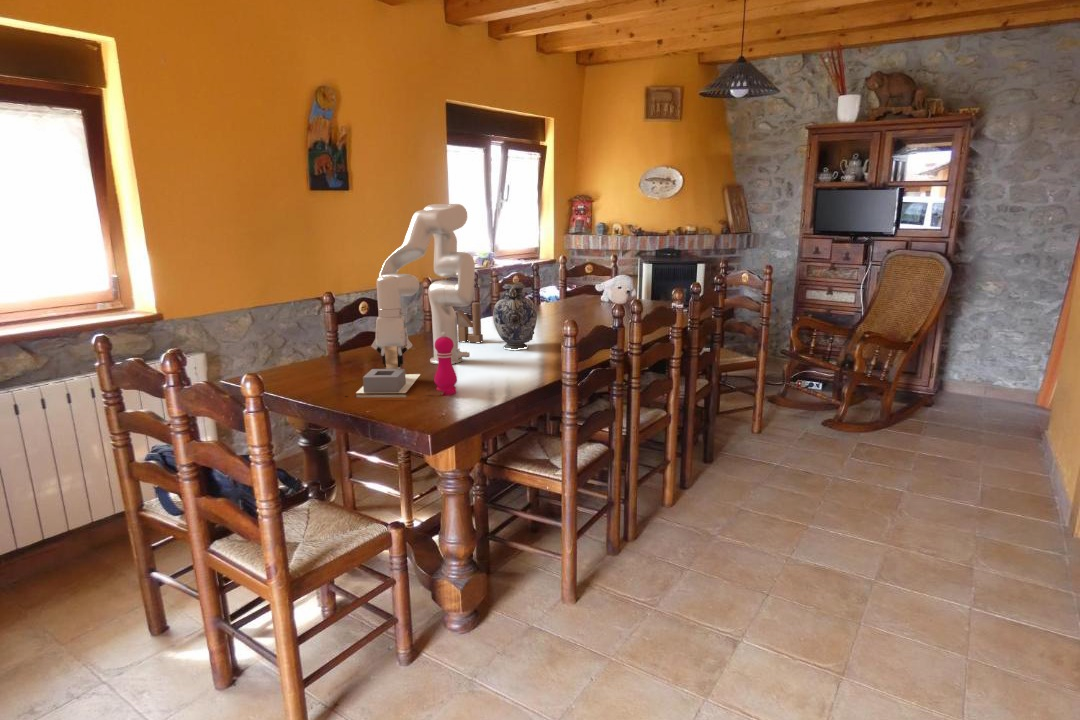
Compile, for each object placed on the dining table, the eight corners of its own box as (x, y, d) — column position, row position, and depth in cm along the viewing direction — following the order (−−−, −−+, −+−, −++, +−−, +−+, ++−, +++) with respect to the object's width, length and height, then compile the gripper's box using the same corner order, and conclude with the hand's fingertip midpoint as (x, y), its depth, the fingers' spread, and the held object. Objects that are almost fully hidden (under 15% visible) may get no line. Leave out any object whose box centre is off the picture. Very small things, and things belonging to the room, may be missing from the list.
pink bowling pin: (442, 389, 213) (439, 329, 209) (461, 391, 211) (459, 330, 206) (430, 394, 207) (427, 333, 202) (450, 396, 204) (448, 334, 200)
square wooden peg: (401, 377, 223) (399, 343, 221) (398, 380, 220) (396, 345, 217) (389, 377, 223) (387, 343, 221) (386, 380, 220) (384, 345, 217)
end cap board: (420, 378, 228) (419, 360, 226) (406, 397, 204) (404, 377, 203) (375, 378, 228) (374, 360, 226) (355, 397, 204) (354, 377, 203)
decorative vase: (536, 353, 266) (534, 285, 260) (491, 353, 267) (489, 286, 261) (538, 343, 287) (537, 280, 280) (497, 343, 287) (494, 280, 281)
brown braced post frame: (462, 340, 294) (460, 301, 290) (483, 342, 290) (482, 302, 286) (458, 342, 290) (456, 302, 286) (479, 343, 286) (478, 303, 282)
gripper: (416, 311, 220) (419, 363, 224) (368, 311, 220) (371, 364, 224) (412, 315, 213) (415, 368, 217) (362, 315, 213) (365, 369, 217)
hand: (393, 365), depth 220 cm, fingers closed on square wooden peg, 4 cm apart
